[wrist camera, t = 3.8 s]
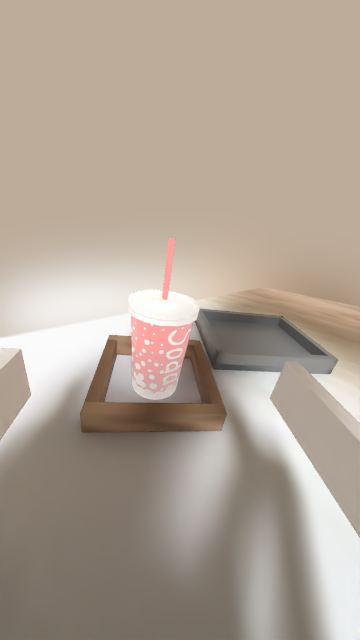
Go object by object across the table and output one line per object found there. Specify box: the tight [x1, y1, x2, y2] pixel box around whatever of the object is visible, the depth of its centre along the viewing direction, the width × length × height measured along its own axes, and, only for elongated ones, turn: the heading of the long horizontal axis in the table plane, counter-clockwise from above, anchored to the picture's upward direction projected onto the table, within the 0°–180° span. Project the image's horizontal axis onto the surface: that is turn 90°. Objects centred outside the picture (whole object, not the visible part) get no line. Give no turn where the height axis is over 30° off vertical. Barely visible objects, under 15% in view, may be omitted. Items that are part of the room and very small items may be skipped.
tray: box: [195, 309, 338, 374], centre depth 31 cm, size 16×13×2 cm
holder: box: [80, 335, 227, 432], centre depth 21 cm, size 11×11×2 cm
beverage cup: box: [128, 238, 200, 400], centre depth 18 cm, size 6×6×14 cm
